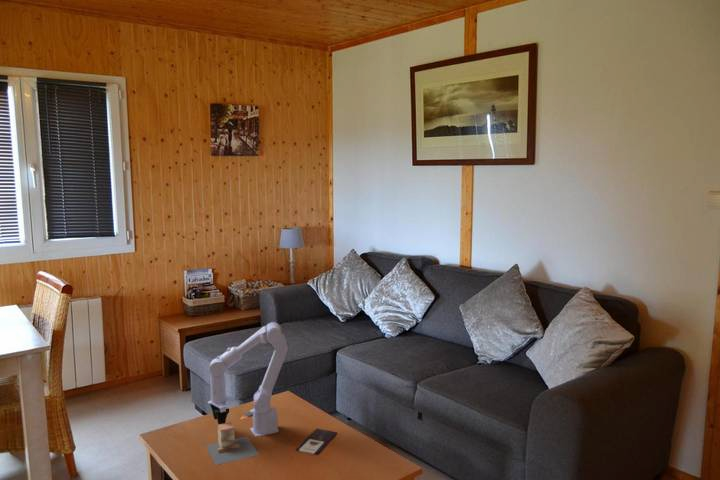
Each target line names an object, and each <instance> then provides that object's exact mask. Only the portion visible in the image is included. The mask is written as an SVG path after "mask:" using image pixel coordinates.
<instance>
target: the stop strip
mask: <svg viewBox="0 0 720 480" xmlns="http://www.w3.org/2000/svg"><path fill="white" fill-rule="evenodd" d="M238 448H240V445H239V444H236V445H232V446H228V447H223V448H219V449H218V453H221V452H225V451H229V450H234V449H238Z"/></svg>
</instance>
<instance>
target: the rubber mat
mask: <svg viewBox="0 0 720 480" xmlns="http://www.w3.org/2000/svg"><path fill="white" fill-rule="evenodd" d="M236 444H239V445H240V448H238V449H234V450H229V451H225V452H221V453H218V449H219V448H220V447H219V445H218V442H216V443H211V444H207V445H205V447H206V449H207V452H208V453H209V455H210V457H211V460H212V461H213V464H214V466H219V465H223V464H228V463H233V462H235V461H239V460H243V459H248V458H253V457H256V456H259V455H260V454H259V452H258V451H257V449H256V448H255V446H254V444H253V443H252V442H251V440H250V439H249V437H248V436H243V437H238V438H235V445H236Z"/></svg>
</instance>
